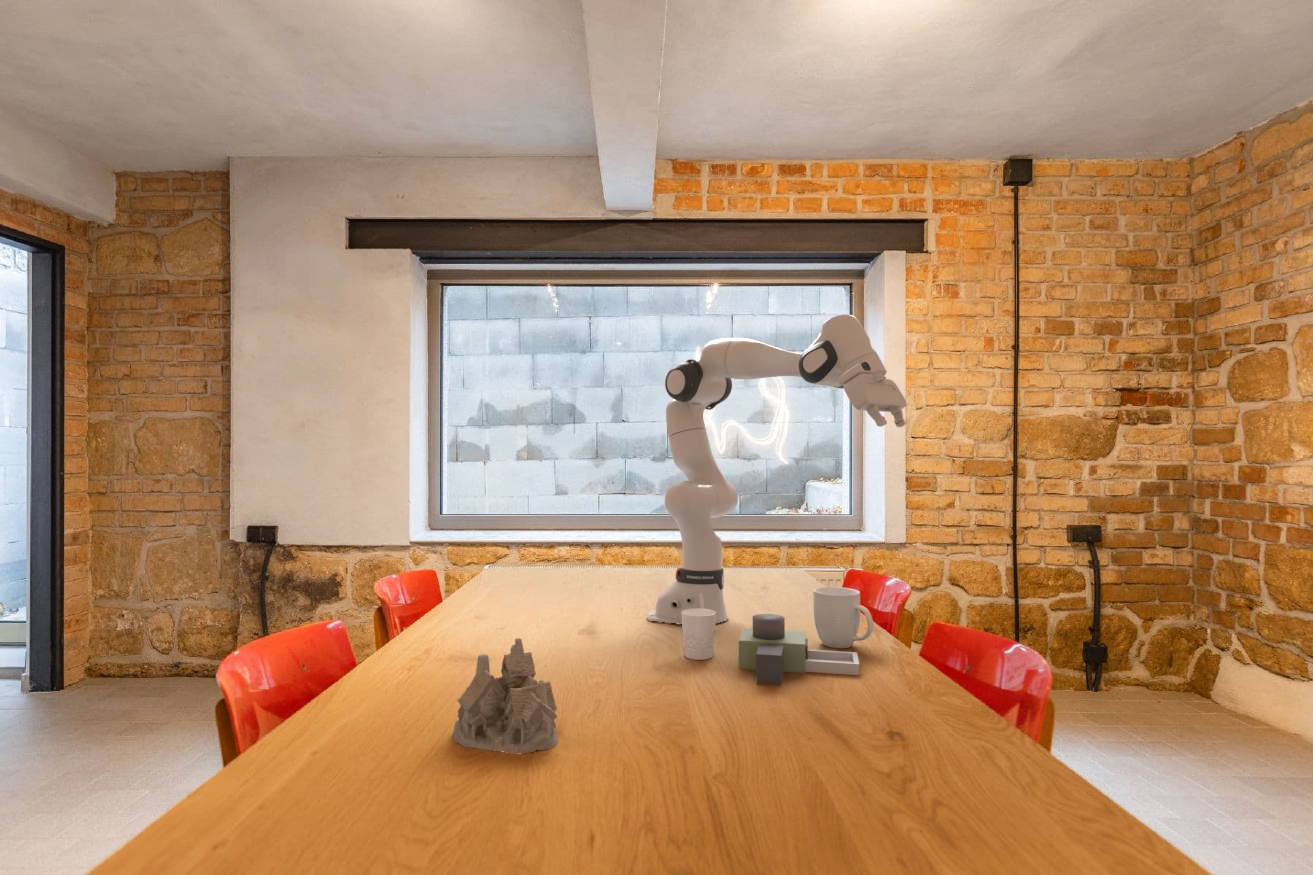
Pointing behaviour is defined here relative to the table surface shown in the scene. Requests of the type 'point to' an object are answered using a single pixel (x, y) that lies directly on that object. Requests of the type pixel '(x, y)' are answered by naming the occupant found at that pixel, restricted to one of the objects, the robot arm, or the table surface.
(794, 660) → the green box with dome
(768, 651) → the tall grey rectangular block
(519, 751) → the ceramic cottage
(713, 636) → the white cup
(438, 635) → the table surface
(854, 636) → the mug
